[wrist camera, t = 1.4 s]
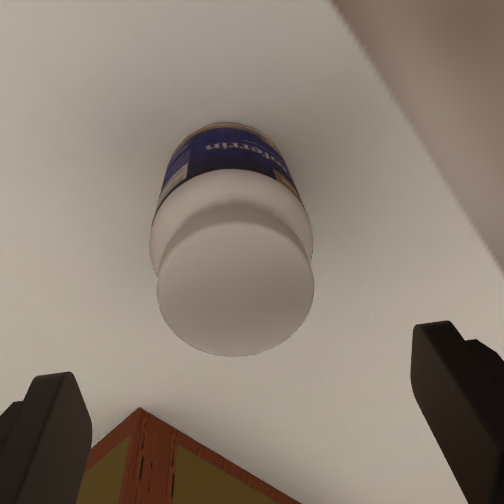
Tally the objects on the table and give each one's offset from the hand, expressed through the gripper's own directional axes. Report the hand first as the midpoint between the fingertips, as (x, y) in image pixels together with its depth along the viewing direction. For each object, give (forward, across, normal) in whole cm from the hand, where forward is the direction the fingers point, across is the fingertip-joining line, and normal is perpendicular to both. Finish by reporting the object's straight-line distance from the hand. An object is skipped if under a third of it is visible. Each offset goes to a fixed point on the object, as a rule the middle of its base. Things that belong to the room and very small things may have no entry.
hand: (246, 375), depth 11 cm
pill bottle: (+13, 0, 0) cm, 13 cm away
